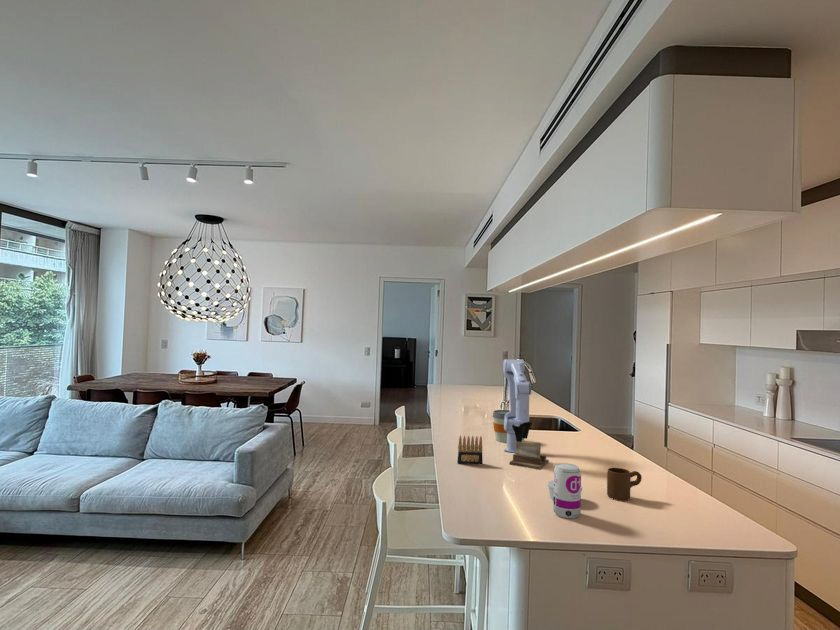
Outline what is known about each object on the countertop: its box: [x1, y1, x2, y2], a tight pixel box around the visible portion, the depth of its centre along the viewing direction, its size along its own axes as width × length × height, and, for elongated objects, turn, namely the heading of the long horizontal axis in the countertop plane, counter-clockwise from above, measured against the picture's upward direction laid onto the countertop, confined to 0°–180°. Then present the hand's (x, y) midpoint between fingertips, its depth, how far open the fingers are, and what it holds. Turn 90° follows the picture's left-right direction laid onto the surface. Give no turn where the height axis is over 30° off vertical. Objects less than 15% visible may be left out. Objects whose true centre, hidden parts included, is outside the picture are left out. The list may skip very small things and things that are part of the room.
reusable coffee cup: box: [492, 409, 510, 444], centre depth 255 cm, size 13×12×15 cm
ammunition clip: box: [457, 435, 484, 465], centre depth 209 cm, size 11×2×12 cm, turn 90°
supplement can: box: [552, 462, 582, 520], centre depth 153 cm, size 8×8×15 cm
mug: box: [606, 467, 643, 501], centre depth 170 cm, size 12×8×9 cm, turn 94°
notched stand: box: [509, 453, 550, 470], centre depth 211 cm, size 14×13×4 cm
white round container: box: [547, 479, 583, 502], centre depth 166 cm, size 11×11×5 cm
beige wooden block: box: [515, 440, 542, 458], centre depth 212 cm, size 3×10×8 cm, turn 66°
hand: (521, 439), depth 215 cm, fingers open, 7 cm apart
